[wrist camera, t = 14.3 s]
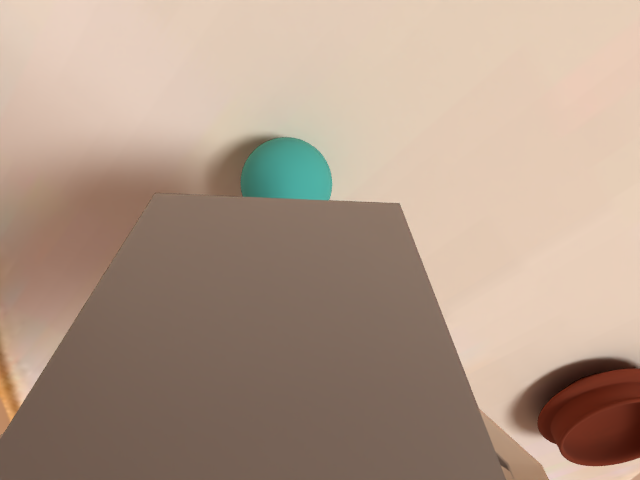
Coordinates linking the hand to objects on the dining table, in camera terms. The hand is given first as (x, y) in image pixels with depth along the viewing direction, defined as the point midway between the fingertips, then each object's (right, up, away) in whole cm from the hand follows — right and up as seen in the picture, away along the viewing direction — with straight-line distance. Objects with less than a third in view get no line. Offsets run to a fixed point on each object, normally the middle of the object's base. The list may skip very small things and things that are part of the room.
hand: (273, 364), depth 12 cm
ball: (0, +7, +10) cm, 12 cm away
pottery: (+31, -11, +27) cm, 43 cm away
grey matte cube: (0, +2, +2) cm, 3 cm away
